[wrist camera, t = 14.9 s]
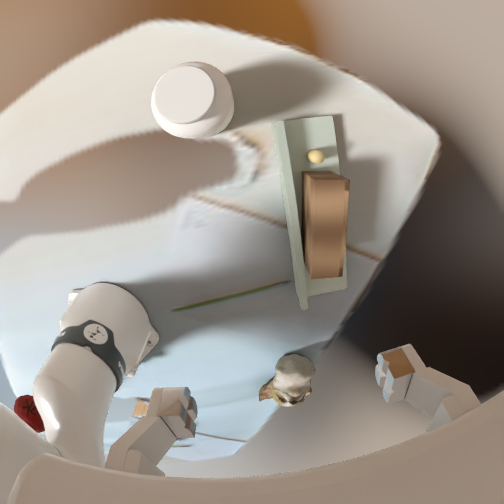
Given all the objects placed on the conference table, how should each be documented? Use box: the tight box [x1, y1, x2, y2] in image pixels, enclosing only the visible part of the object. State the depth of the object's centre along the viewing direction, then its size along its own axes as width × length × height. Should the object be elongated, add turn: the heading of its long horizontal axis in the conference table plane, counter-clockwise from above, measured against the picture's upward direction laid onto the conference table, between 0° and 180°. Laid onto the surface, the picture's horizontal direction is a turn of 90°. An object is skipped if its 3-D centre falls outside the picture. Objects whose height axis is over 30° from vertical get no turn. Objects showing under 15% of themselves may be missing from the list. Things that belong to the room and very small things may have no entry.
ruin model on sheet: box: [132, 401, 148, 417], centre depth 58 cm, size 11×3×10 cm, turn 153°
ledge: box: [270, 116, 347, 310], centre depth 38 cm, size 26×8×5 cm, turn 10°
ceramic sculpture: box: [259, 354, 315, 406], centre depth 50 cm, size 11×9×15 cm
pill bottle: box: [151, 62, 234, 138], centre depth 27 cm, size 8×8×15 cm
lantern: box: [14, 395, 45, 433], centre depth 40 cm, size 10×10×30 cm
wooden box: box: [301, 171, 349, 279], centre depth 35 cm, size 12×4×7 cm, turn 3°
